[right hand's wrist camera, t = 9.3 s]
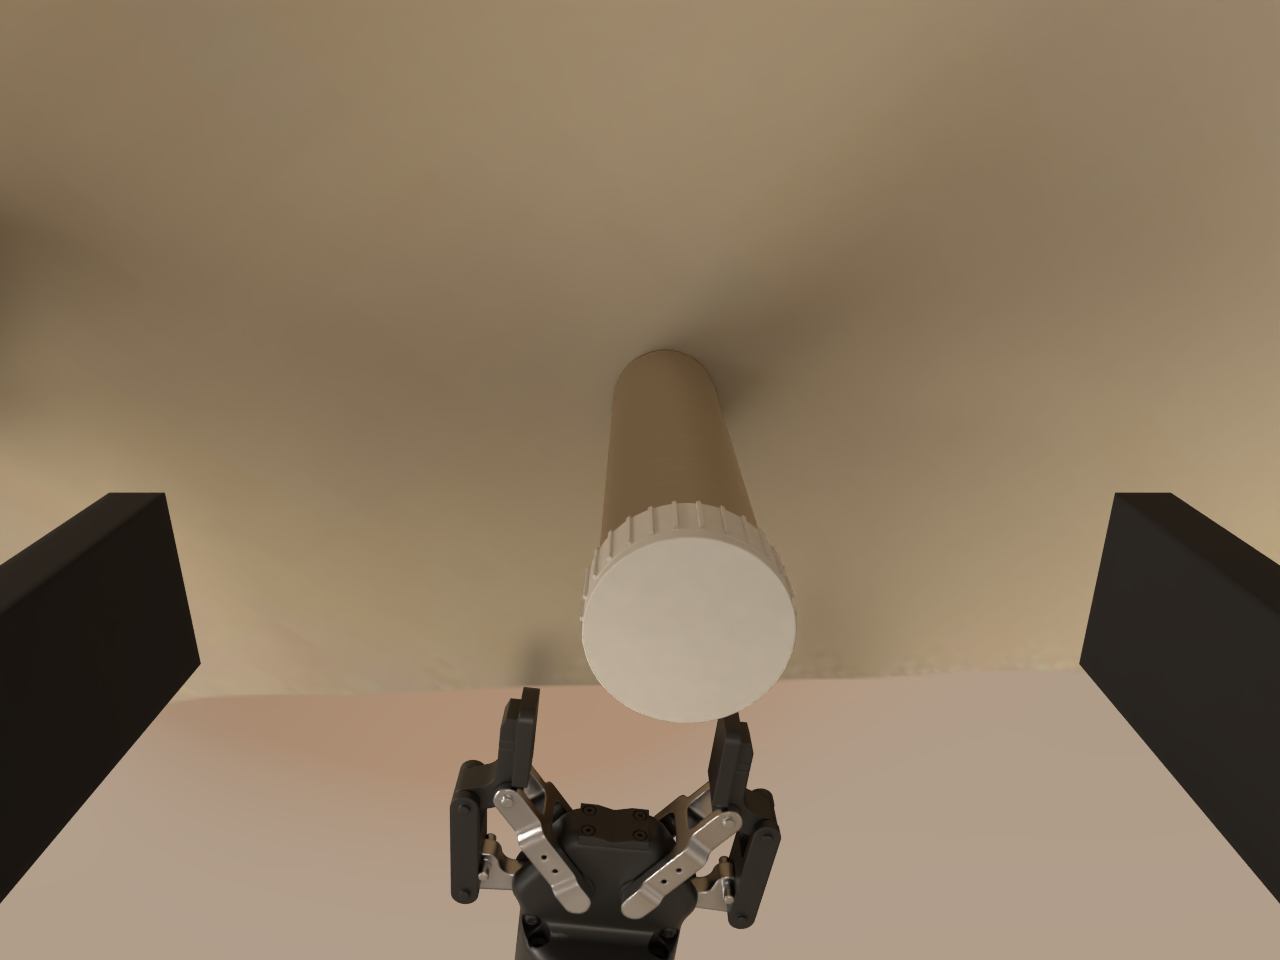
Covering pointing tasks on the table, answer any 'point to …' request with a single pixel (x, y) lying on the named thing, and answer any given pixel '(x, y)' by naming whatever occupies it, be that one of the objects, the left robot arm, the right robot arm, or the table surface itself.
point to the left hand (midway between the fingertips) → (631, 708)
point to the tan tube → (669, 442)
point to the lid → (687, 613)
